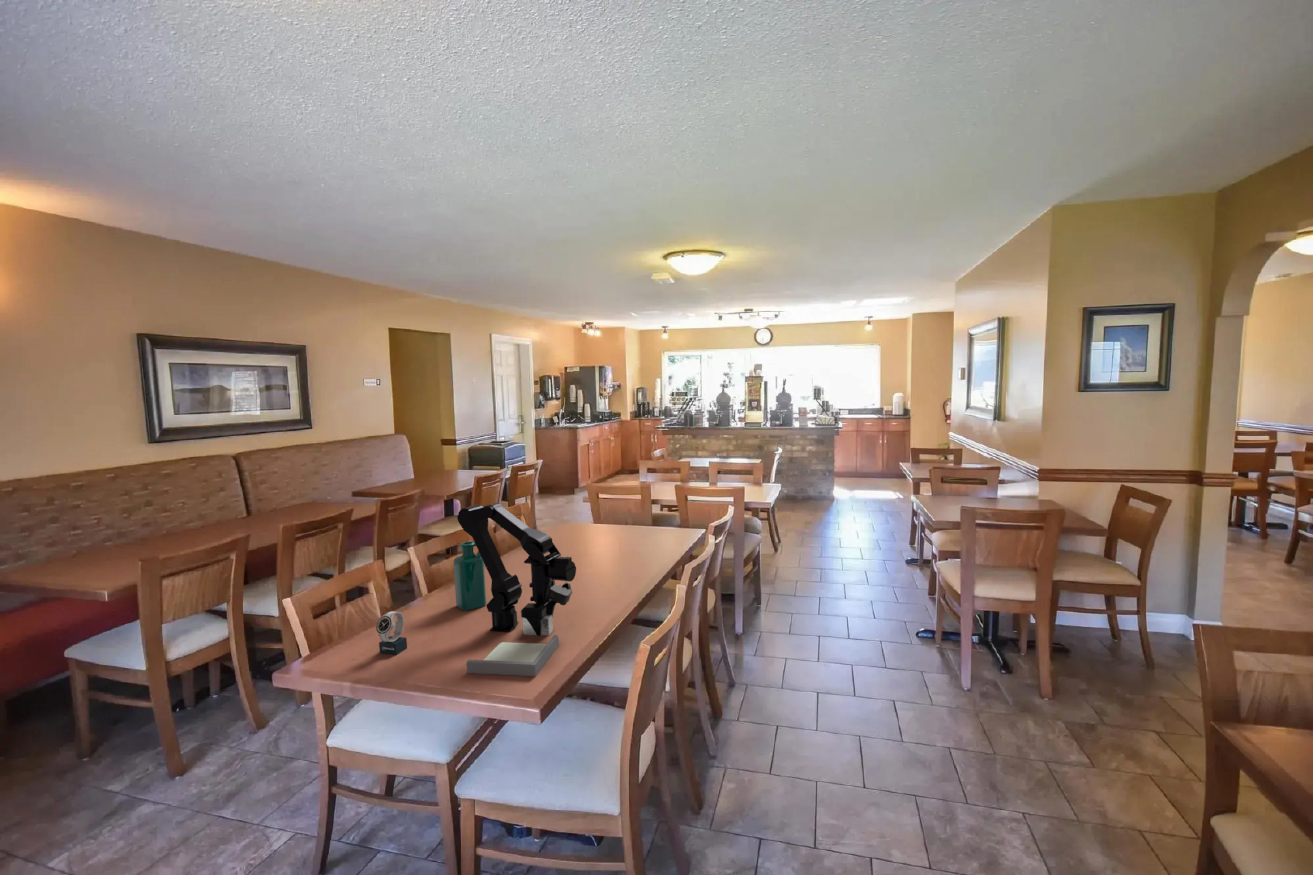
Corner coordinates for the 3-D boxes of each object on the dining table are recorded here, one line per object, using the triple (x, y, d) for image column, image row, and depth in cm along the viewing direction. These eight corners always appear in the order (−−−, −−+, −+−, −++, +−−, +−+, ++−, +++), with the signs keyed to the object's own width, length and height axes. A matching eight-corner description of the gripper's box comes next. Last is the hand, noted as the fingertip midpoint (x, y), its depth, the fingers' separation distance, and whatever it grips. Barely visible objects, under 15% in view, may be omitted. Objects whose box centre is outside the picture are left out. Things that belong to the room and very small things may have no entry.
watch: (374, 656, 156) (371, 617, 155) (395, 643, 164) (392, 606, 163) (391, 658, 154) (388, 619, 154) (411, 645, 162) (408, 608, 161)
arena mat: (474, 670, 145) (474, 669, 145) (501, 643, 161) (501, 642, 161) (533, 673, 143) (533, 672, 143) (554, 645, 158) (554, 644, 158)
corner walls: (466, 673, 144) (466, 661, 144) (496, 643, 161) (496, 633, 161) (535, 676, 141) (535, 664, 141) (558, 645, 158) (558, 635, 158)
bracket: (523, 634, 167) (522, 617, 166) (533, 623, 175) (532, 607, 174) (549, 635, 165) (548, 618, 165) (558, 624, 173) (557, 608, 173)
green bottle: (463, 612, 186) (459, 546, 184) (454, 605, 193) (450, 542, 191) (492, 604, 192) (488, 541, 191) (482, 598, 199) (478, 536, 197)
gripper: (557, 589, 155) (559, 644, 157) (577, 568, 174) (579, 617, 175) (518, 588, 157) (521, 643, 158) (543, 568, 176) (545, 616, 177)
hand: (544, 629), depth 167 cm, fingers open, 8 cm apart
